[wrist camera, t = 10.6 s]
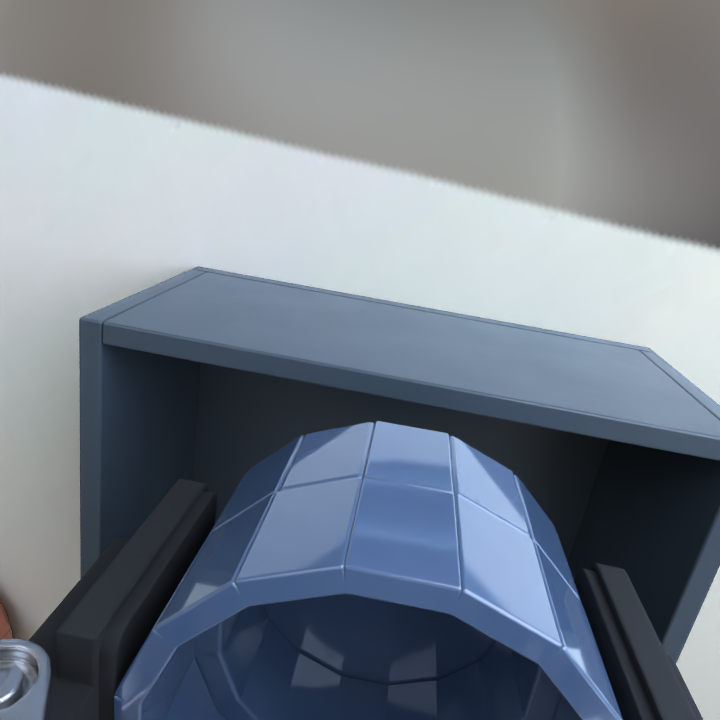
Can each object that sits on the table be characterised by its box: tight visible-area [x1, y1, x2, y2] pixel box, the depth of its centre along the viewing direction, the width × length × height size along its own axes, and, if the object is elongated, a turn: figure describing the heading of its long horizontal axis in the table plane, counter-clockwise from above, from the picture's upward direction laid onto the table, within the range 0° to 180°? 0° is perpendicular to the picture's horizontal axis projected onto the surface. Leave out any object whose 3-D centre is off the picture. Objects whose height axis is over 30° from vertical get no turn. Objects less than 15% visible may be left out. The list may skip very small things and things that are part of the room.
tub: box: [79, 267, 720, 664], centre depth 17 cm, size 14×14×6 cm
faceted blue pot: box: [113, 421, 623, 720], centre depth 10 cm, size 7×7×4 cm
